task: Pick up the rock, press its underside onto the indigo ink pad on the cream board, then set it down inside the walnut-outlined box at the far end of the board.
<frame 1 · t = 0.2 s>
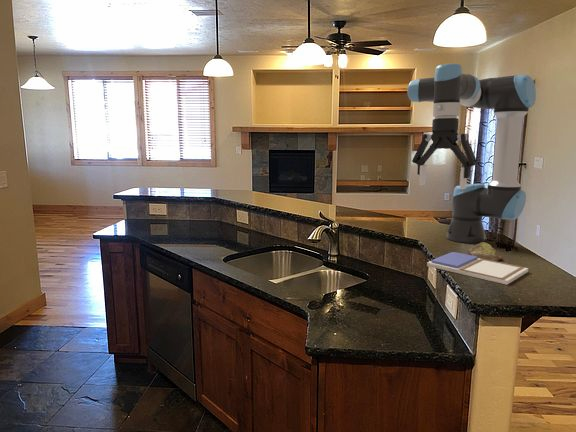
hand: (441, 187, 136), 28 cm above the worktop, fingers open, 13 cm apart
rock: (482, 257, 157), on the worktop
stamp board: (476, 268, 143), on the worktop
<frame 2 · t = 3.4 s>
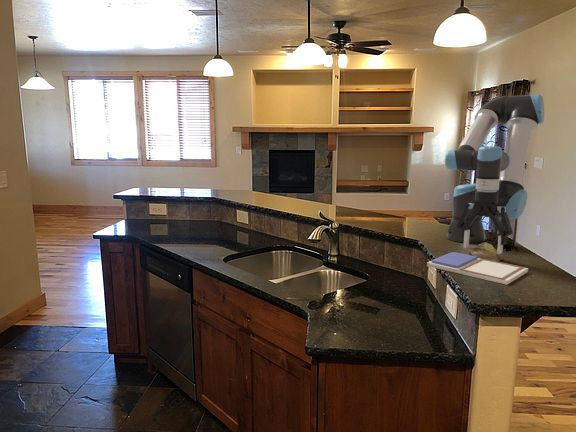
hand: (482, 250, 157), 2 cm above the worktop, fingers open, 11 cm apart
rock: (483, 257, 157), on the worktop, touching gripper
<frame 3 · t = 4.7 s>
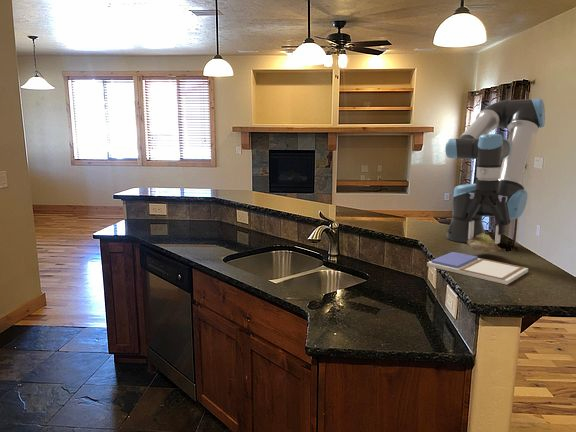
hand: (483, 240, 157), 6 cm above the worktop, fingers closed on rock, 9 cm apart
rock: (481, 248, 157), point 3 cm above the worktop, touching gripper
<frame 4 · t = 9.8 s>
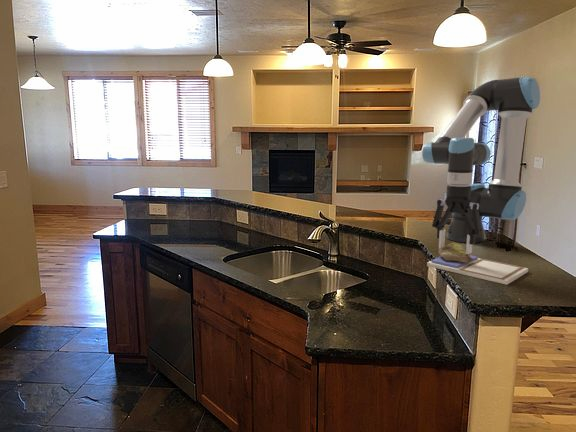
hand: (454, 250, 147), 5 cm above the worktop, fingers closed on rock, 9 cm apart
rock: (452, 258, 148), point 2 cm above the worktop, touching gripper
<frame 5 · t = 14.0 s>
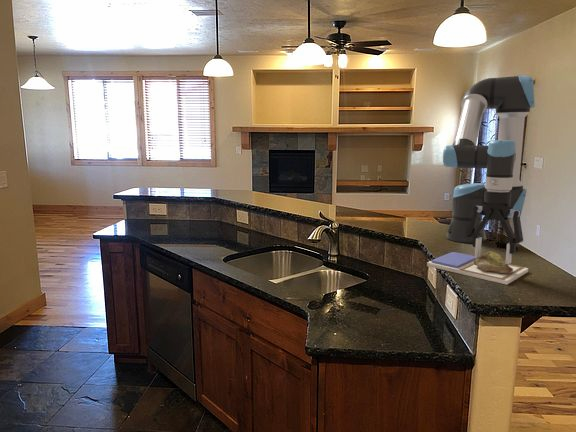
hand: (492, 260, 139), 4 cm above the worktop, fingers closed on rock, 9 cm apart
rock: (490, 269, 139), point 1 cm above the worktop, touching gripper, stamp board
when the fingers open (4 cm above the worktop, at t = 14.3 s): rock stays where it is, resting on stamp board.
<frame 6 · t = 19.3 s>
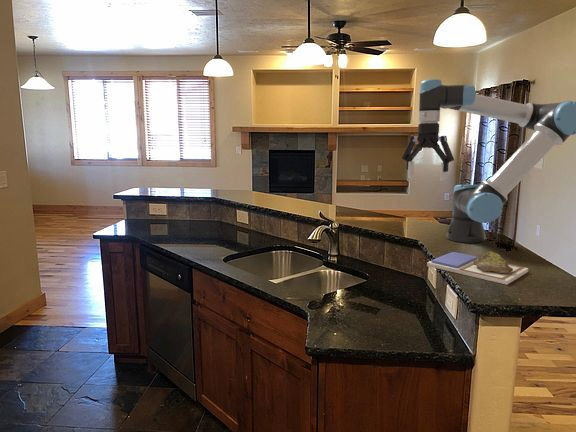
hand: (426, 179, 166), 27 cm above the worktop, fingers open, 13 cm apart
rock: (490, 269, 139), point 1 cm above the worktop, touching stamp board
at the end: rock inside the target area on the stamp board (0.6 cm from its centre), point 1.1 cm above the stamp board's base; the gripper is holding nothing; rock touching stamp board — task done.
